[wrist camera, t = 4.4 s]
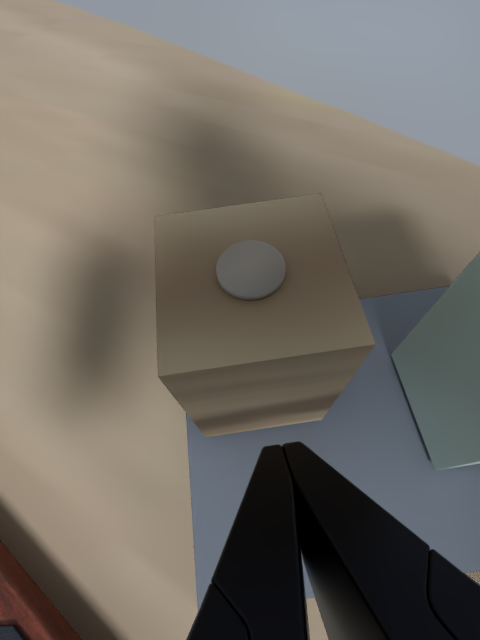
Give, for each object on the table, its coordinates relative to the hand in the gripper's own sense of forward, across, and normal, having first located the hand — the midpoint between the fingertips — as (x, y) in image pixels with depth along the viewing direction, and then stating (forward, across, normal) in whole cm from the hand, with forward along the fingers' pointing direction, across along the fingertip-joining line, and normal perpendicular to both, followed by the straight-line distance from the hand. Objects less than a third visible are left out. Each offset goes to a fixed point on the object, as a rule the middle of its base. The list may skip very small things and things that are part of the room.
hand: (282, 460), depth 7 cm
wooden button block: (+7, 0, +1) cm, 7 cm away
